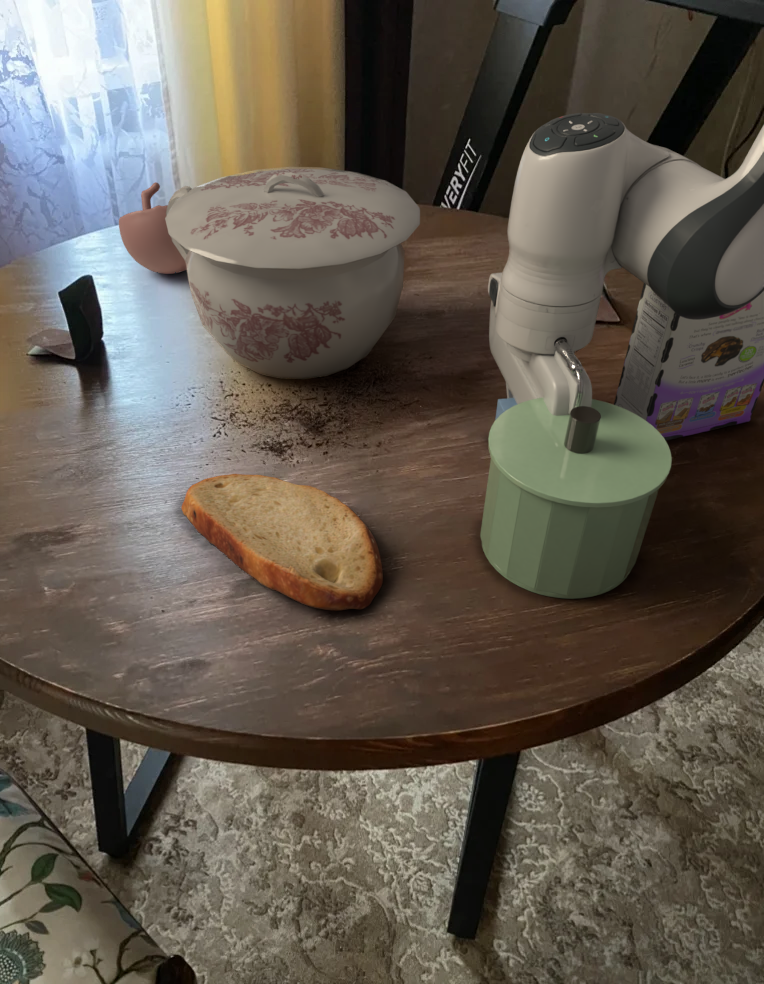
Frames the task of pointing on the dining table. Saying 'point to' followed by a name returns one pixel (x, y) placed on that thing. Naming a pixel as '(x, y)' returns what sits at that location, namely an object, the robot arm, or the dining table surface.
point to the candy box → (692, 367)
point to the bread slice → (289, 538)
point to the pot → (560, 540)
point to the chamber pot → (294, 264)
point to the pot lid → (580, 453)
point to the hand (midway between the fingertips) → (524, 439)
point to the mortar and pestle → (150, 237)
